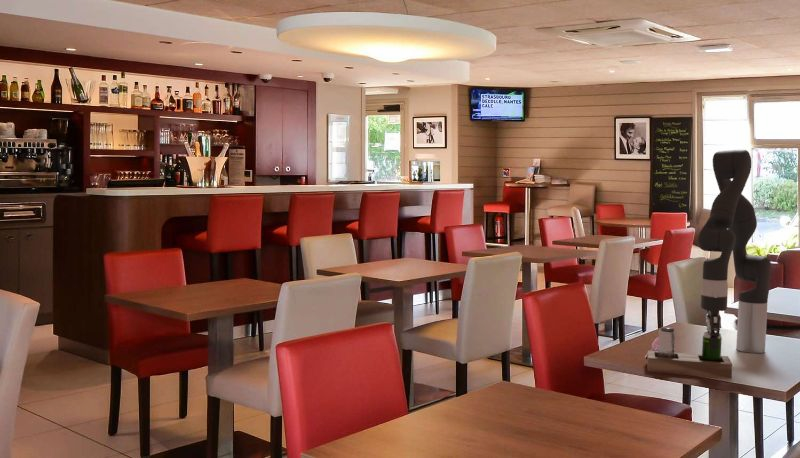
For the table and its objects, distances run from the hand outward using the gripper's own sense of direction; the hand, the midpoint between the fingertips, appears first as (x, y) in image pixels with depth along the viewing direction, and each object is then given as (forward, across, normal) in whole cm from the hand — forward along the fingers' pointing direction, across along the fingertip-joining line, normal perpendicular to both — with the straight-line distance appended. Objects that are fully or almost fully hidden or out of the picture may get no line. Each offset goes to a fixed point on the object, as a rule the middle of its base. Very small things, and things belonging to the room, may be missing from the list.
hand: (712, 346), depth 251 cm
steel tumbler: (+8, 0, -13) cm, 15 cm away
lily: (+9, -16, -16) cm, 24 cm away
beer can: (+8, 0, 0) cm, 8 cm away
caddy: (+9, 0, -7) cm, 11 cm away
